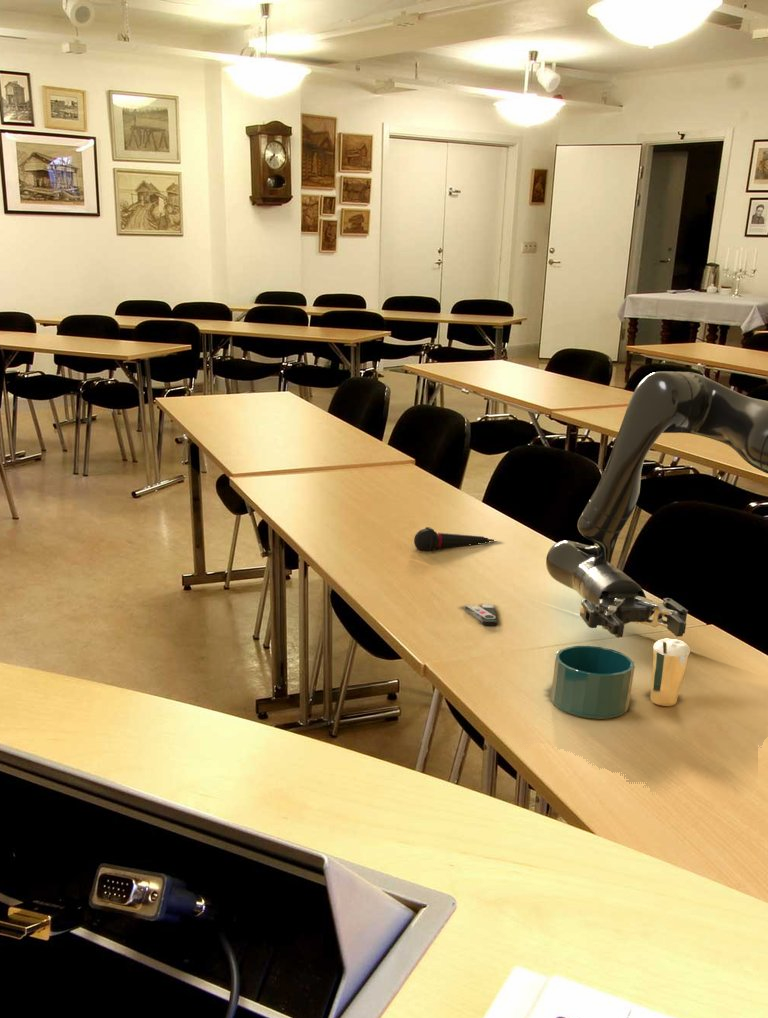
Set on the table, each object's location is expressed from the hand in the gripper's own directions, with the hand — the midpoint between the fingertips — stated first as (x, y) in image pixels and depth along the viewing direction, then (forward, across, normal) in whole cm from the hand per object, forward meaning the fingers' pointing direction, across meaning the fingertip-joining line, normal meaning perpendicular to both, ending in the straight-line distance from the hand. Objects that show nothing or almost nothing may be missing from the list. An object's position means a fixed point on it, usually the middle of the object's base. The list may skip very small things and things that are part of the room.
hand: (651, 630), depth 130 cm
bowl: (+6, -10, +8) cm, 14 cm away
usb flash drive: (-27, -18, +8) cm, 33 cm away
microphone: (-68, -14, +8) cm, 70 cm away
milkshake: (+7, 0, +8) cm, 11 cm away
